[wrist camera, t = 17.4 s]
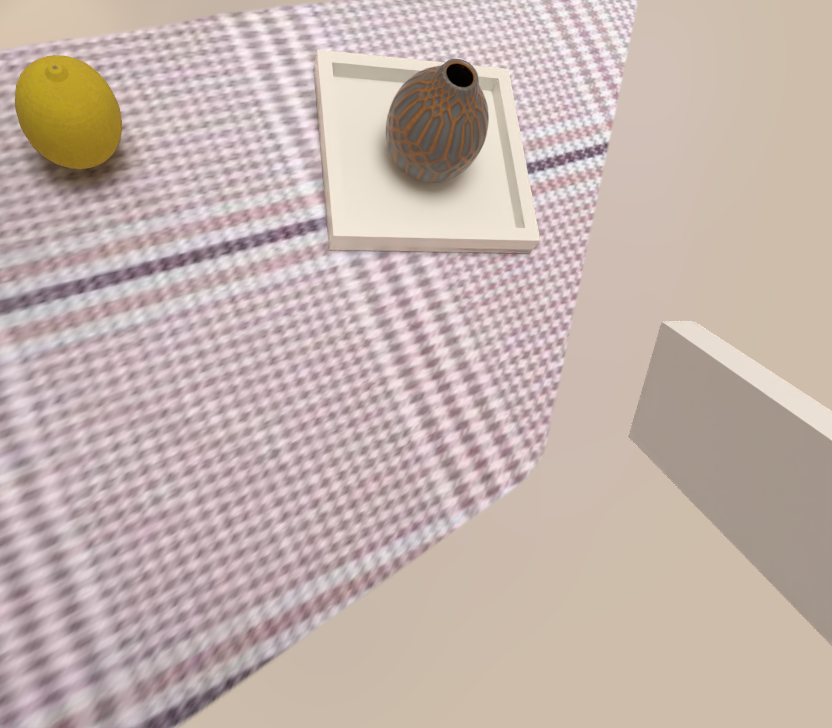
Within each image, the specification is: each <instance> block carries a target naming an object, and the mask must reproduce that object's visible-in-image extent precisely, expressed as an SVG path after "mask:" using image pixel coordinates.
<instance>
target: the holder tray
mask: <svg viewBox="0 0 832 728" xmlns="http://www.w3.org/2000/svg"><path fill="white" fill-rule="evenodd" d="M443 64H444V62H434V61H424V60H415V59H405V58H395V57H385V56H375V55H365V54H356V53H346V52H336V51H326V50H317V54H316V60H315V65H314V77H315V88H316V100H317V112H318V124H319V135H320V147H321V159H322V171H323V182H324V194H325V206H326V217H327V229H328V241H329V250H365V251H421V252H478V253H530V251H531V250H532V249H533V248H534V247H535V246H536V245H537V244H538V243H539V241H540V237H539V232H538V226H537V221H536V215H535V210H534V205H533V199H532V194H531V188H530V183H529V178H528V172H527V167H526V162H525V156H524V151H523V145H522V140H521V135H520V129H519V124H518V118H517V113H516V108H515V102H514V97H513V92H512V86H511V81H510V75H509V70H508V69H503V68H493V67H484V66H474V65H472V66H473V67H474V68H475V70H476V72H477V74H478V79H479V86H480V88H481V90H482V92H483V94H484V96H485V99H486V102H487V106H488V113H489V123H488V130H487V135H486V139H485V142H484V145H483V147H482V149H481V151H480V153H479V154H478V156H477V157H476V159H475V160H474V161H473V163H472V164H471V165H470V166H469V167H468V168H467V169H466V170H465V171H464V172H463V173H461V174H460V175H458V176H457V177H455V178H453V179H450V180H448V181H445V182H440V183H427V182H422V181H418V180H416V179H413V178H411V177H410V176H408V175H407V174H405V173H404V172H403V171H402V170H401V169H400V168H399V167H398V166H397V165H396V163H395V162H394V160H393V159H392V157H391V155H390V152H389V149H388V146H387V141H386V121H387V116H388V112H389V108H390V106H391V103H392V101H393V99H394V97H395V95H396V94H397V92H398V91H399V89H400V88H401V87H402V85H403V84H404V83H405V82H406V81H407V80H408V79H409V78H411V77H412V76H413V75H415V74H416V73H418V72H419V71H422V70H424V69H426V68H430V67H434V66H440V65H443Z"/></svg>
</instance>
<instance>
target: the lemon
mask: <svg viewBox="0 0 832 728" xmlns="http://www.w3.org/2000/svg"><path fill="white" fill-rule="evenodd" d="M15 107H16V112H17V116H18V120H19V123H20V126H21V128H22V130H23V132H24V134H25V135H26V137H27V138H28V140H29V142H30V143H31V145H32V146H33V147H34V148H35V149H36V150H37V151H38V152H39V153H41V154H42V155H43V156H44V157H45V158H46V159H48V160H50V161H52V162H54V163H55V164H57V165H60V166H64V167H67V168H72V169H86V168H92V167H95V166H98V165H100V164H101V163H103V162H105V161H106V160H107V159H108V158H109V157H110V156H111V155H112V154H113V153H114V152H115V150H116V148H117V146H118V144H119V142H120V138H121V132H122V120H121V113H120V108H119V105H118V103H117V100H116V98H115V96H114V94H113V92H112V90H111V88H110V87H109V85H108V84H107V82H106V81H105V80H104V79H103V78H102V77H101V75H100V74H99V73H98V72H97V71H96V70H95V69H93V68H92V67H90V66H89V65H88V64H86V63H84V62H82V61H80V60H78V59H75V58H71V57H67V56H56V55H53V56H47V57H43V58H41V59H38V60H36V61H34V62H33V63H31V64H30V65H28V66H27V67H26V69H25V70H24V71H23V72H22V73H21V75H20V77H19V80H18V82H17V85H16V93H15Z"/></svg>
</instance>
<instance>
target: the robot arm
mask: <svg viewBox="0 0 832 728" xmlns="http://www.w3.org/2000/svg"><path fill="white" fill-rule="evenodd" d="M629 438H630V439H631V440H632V441H633V442H634V443H635V444H636V445H637V446H638V447H639V448H640V449H641V450H642V451H643V452H644V453H645V454H646V455H647V456H648V457H649V458H650V459H651V460H652V461H653V462H654V463H655V465H657V467H658V468H659V469H660V470H661V471H662V472H663V473H664V474H665V475H666V476H667V477H668V478H669V479H670V480H671V481H672V482H673V483H674V484H675V485H676V486H677V487H678V488H679V489H680V490H681V491H682V492H683V493H684V494H685V495H686V496H687V497H688V498H689V500H691V502H692V503H693V504H694V505H695V506H696V507H697V508H698V509H699V510H700V511H701V512H702V513H703V514H704V515H705V516H706V517H707V518H708V519H709V520H710V521H711V522H712V523H713V524H714V525H715V526H716V527H717V528H718V529H719V530H720V531H721V532H722V533H723V534H724V536H725V537H727V539H729V541H730V542H731V543H732V544H733V545H734V546H735V547H736V548H737V549H738V550H739V551H740V552H741V553H742V554H743V555H744V556H745V557H746V558H747V559H748V560H749V561H750V562H751V563H752V564H753V565H754V566H755V567H756V568H757V569H758V570H759V572H760V573H761V574H763V576H764V577H765V578H766V579H767V580H768V581H769V582H770V583H771V584H772V585H773V586H774V587H775V588H776V589H777V590H778V591H779V592H780V593H781V594H782V595H783V596H784V597H785V598H786V599H787V600H788V601H789V602H790V603H791V604H792V605H793V607H794V608H796V609H797V611H798V612H799V613H800V614H801V615H802V616H803V617H804V618H805V619H806V620H807V621H808V622H809V623H810V624H811V625H812V626H813V627H814V628H815V629H816V630H817V631H818V632H819V633H820V634H821V635H822V636H823V637H824V638H825V639H826V640H827V641H828V643H830V645H832V411H831V410H829V409H828V408H826V407H825V406H823V405H821V404H820V403H818V402H817V401H816V400H814V399H812V398H811V397H809V396H808V395H806V394H805V393H803V392H802V391H800V390H799V389H797V388H796V387H794V386H792V385H791V384H789V383H788V382H786V381H785V380H783V379H782V378H780V377H779V376H777V375H776V374H774V373H773V372H771V371H770V370H768V369H767V368H765V367H763V366H762V365H760V364H759V363H757V362H756V361H754V360H753V359H751V358H750V357H748V356H747V355H745V354H743V353H742V352H740V351H739V350H737V349H736V348H734V347H733V346H731V345H730V344H728V343H727V342H725V341H724V340H722V339H721V338H719V337H717V336H716V335H714V334H713V333H711V332H710V331H708V330H707V329H705V328H704V327H702V326H700V325H699V324H698V323H696V322H694V321H670V322H669V321H668V322H662V323H661V326H660V330H659V333H658V337H657V340H656V343H655V347H654V350H653V354H652V357H651V361H650V364H649V368H648V371H647V375H646V378H645V382H644V385H643V388H642V392H641V395H640V399H639V402H638V405H637V409H636V413H635V416H634V419H633V423H632V427H631V430H630V433H629Z"/></svg>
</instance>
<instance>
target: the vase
mask: <svg viewBox="0 0 832 728" xmlns="http://www.w3.org/2000/svg"><path fill="white" fill-rule="evenodd" d="M488 123H489V113H488V106H487V102H486V99H485V96H484V94H483V92H482V90H481V88H480V86H479V79H478V74H477V72H476V70H475V68H474V67H473V66H472V65H471V64H469V63H468V62H466V61H464V60H461V59H451V60H449V61H447V62H445V63H444V64H443V65H440V66H434V67H430V68H426V69H424V70H422V71H419V72H418V73H416V74H415V75H413V76H412V77H411V78H409V79H408V80H407V81H406V82H405V83H404V84H403V85H402V87H401V88H400V89H399V91H398V92H397V94H396V95H395V97H394V99H393V101H392V103H391V106H390V108H389V112H388V116H387V121H386V141H387V146H388V149H389V152H390V155H391V157H392V159H393V160H394V162H395V163H396V165H397V166H398V167H399V168H400V169H401V170H402V171H403V172H404V173H405V174H407V175H408V176H410V177H411V178H413V179H416V180H418V181H422V182H427V183H440V182H445V181H448V180H450V179H453V178H455V177H457V176H458V175H460V174H461V173H463V172H464V171H465V170H466V169H467V168H468V167H469V166H470V165H471V164H472V163H473V161H474V160H475V159H476V157H477V156H478V154H479V153H480V151H481V149H482V147H483V145H484V142H485V139H486V135H487V130H488Z"/></svg>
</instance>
